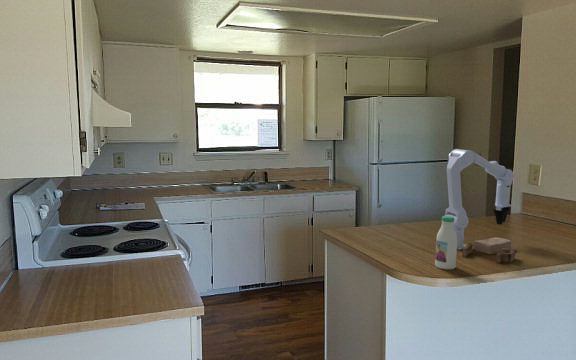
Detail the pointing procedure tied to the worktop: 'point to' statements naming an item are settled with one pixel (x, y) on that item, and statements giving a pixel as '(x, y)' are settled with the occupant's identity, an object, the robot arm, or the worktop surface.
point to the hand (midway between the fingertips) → (500, 223)
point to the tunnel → (503, 256)
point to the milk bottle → (446, 244)
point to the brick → (492, 245)
